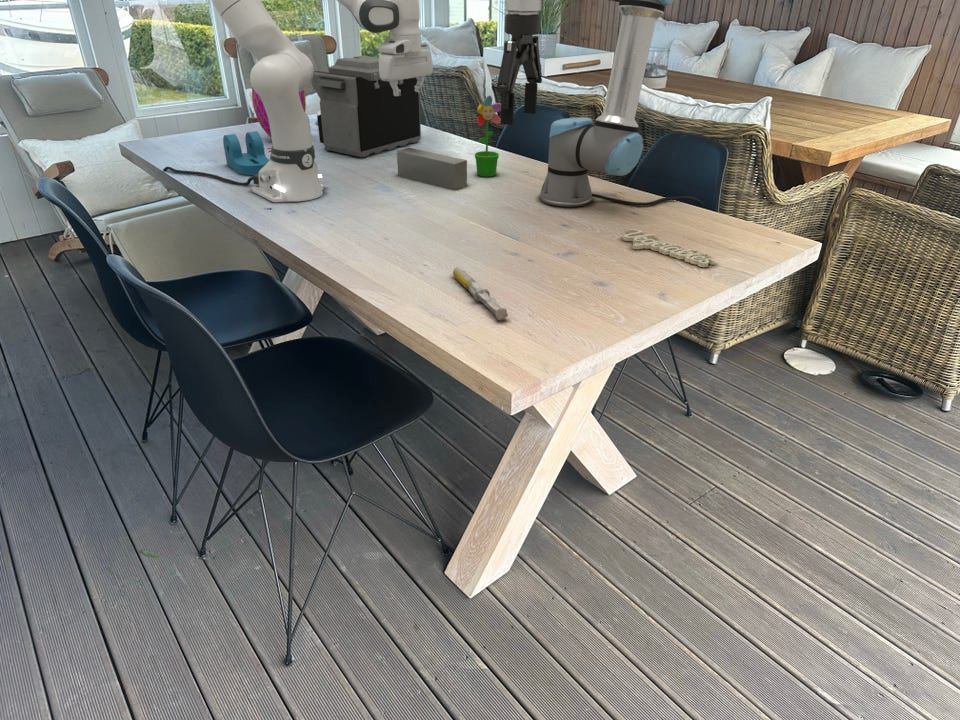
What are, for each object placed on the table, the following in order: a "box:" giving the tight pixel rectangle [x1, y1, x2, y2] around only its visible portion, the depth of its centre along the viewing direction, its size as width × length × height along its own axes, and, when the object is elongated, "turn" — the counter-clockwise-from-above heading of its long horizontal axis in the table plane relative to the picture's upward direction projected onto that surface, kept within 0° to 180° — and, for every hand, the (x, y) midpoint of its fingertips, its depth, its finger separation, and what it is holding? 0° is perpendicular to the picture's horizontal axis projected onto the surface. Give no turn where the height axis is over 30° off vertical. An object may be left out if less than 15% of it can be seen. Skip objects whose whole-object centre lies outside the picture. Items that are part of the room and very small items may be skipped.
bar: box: [396, 147, 468, 191], centre depth 217 cm, size 24×6×8 cm, turn 52°
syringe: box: [452, 266, 509, 321], centre depth 145 cm, size 25×4×3 cm, turn 21°
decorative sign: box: [622, 228, 715, 268], centre depth 169 cm, size 26×1×10 cm
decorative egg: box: [251, 86, 307, 138], centre depth 257 cm, size 19×19×30 cm
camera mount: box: [222, 131, 271, 176], centre depth 226 cm, size 18×10×10 cm, turn 35°
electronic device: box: [311, 55, 422, 159], centre depth 250 cm, size 37×22×30 cm, turn 144°
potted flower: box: [474, 94, 502, 178], centre depth 220 cm, size 9×8×25 cm
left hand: (407, 93), depth 211 cm, fingers open, 8 cm apart
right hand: (518, 118), depth 154 cm, fingers open, 13 cm apart
